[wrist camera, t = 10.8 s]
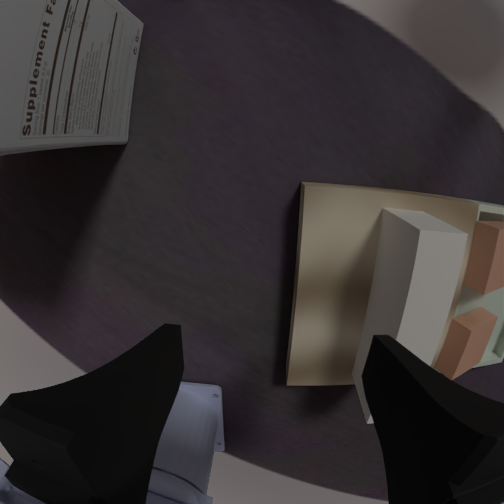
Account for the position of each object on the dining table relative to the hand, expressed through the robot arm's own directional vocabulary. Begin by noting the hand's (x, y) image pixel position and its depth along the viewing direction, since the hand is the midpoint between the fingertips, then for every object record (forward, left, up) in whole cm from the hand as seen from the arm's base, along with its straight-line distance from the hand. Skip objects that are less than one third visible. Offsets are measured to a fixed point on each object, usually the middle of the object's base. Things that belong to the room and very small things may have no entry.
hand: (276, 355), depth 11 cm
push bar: (-2, -8, -8) cm, 11 cm away
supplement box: (+12, +13, -10) cm, 21 cm away
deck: (-2, -8, -10) cm, 12 cm away
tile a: (-5, -16, -9) cm, 19 cm away
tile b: (+2, -16, -9) cm, 18 cm away
